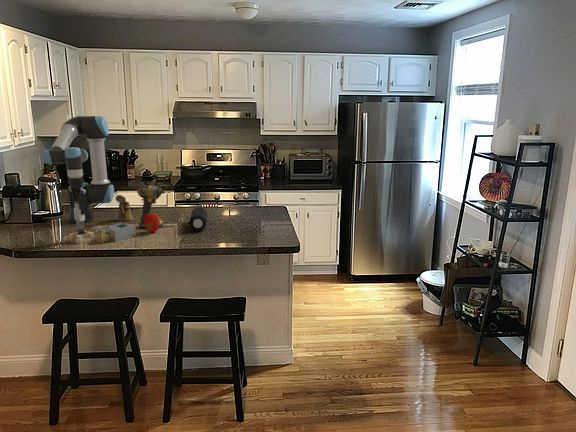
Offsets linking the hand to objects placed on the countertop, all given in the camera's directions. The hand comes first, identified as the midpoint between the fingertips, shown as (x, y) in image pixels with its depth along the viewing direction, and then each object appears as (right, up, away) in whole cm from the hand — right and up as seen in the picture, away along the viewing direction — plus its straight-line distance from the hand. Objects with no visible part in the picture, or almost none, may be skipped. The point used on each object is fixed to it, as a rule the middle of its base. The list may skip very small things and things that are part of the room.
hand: (80, 219), depth 258 cm
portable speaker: (+59, -5, +32) cm, 67 cm away
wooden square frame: (0, -11, +3) cm, 12 cm away
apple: (+34, -7, +19) cm, 40 cm away
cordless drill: (+33, -5, +30) cm, 45 cm away
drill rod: (0, -7, +2) cm, 8 cm away
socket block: (+18, -10, +9) cm, 22 cm away
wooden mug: (+9, -1, +44) cm, 45 cm away
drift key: (+14, -11, +3) cm, 18 cm away
